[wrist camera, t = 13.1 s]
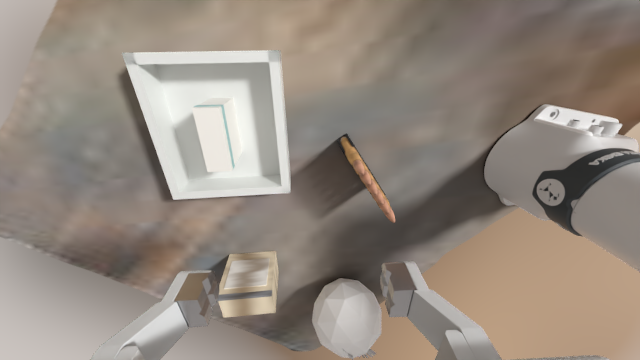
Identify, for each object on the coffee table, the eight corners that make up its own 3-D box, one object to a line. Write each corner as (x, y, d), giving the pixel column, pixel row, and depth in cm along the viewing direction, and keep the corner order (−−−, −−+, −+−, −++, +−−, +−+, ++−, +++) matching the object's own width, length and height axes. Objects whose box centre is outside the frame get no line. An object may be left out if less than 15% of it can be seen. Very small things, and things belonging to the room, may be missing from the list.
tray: (280, 50, 32) (278, 50, 28) (290, 179, 41) (290, 192, 37) (144, 52, 31) (121, 52, 27) (185, 184, 40) (173, 199, 36)
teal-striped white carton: (233, 97, 34) (219, 107, 27) (242, 151, 37) (232, 171, 31) (210, 97, 33) (191, 107, 27) (221, 152, 37) (207, 172, 31)
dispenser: (275, 250, 48) (271, 293, 39) (278, 272, 51) (275, 317, 42) (229, 253, 47) (214, 298, 39) (235, 275, 50) (222, 322, 42)
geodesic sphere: (408, 299, 50) (391, 355, 37) (375, 339, 55) (351, 399, 43) (347, 253, 55) (316, 290, 42) (323, 294, 60) (289, 337, 48)
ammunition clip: (336, 139, 39) (352, 172, 28) (346, 133, 38) (365, 163, 28) (367, 186, 43) (391, 230, 33) (376, 181, 43) (403, 223, 32)
